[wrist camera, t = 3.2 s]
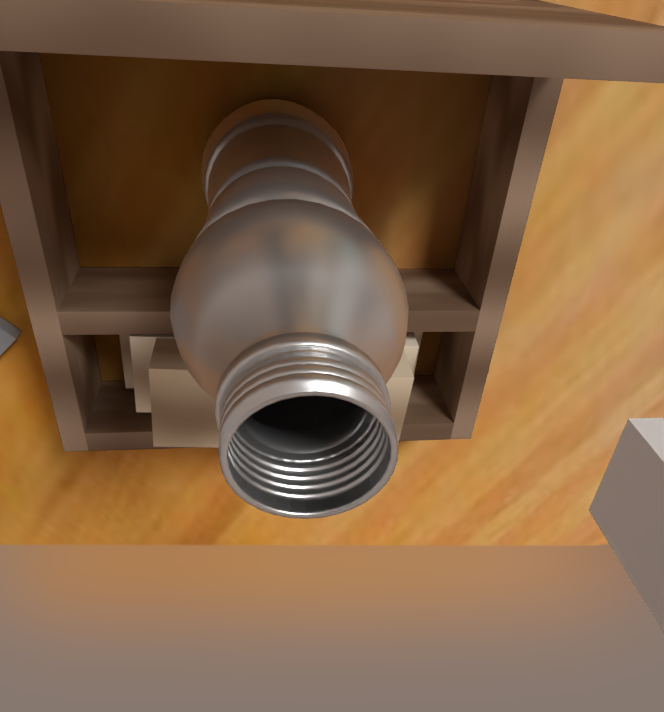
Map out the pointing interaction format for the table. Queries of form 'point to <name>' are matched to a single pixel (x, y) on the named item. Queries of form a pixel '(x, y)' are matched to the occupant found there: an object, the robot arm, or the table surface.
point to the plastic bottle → (291, 316)
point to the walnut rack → (308, 48)
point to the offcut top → (197, 409)
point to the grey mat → (7, 334)
